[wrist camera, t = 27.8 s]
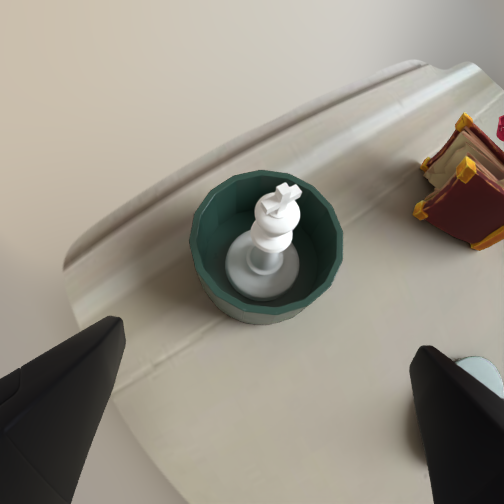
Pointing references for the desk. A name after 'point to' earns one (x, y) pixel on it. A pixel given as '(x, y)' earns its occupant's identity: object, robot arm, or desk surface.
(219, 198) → the pot
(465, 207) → the book monster
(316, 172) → the desk surface
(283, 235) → the chess piece
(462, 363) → the pot lid
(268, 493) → the desk surface
